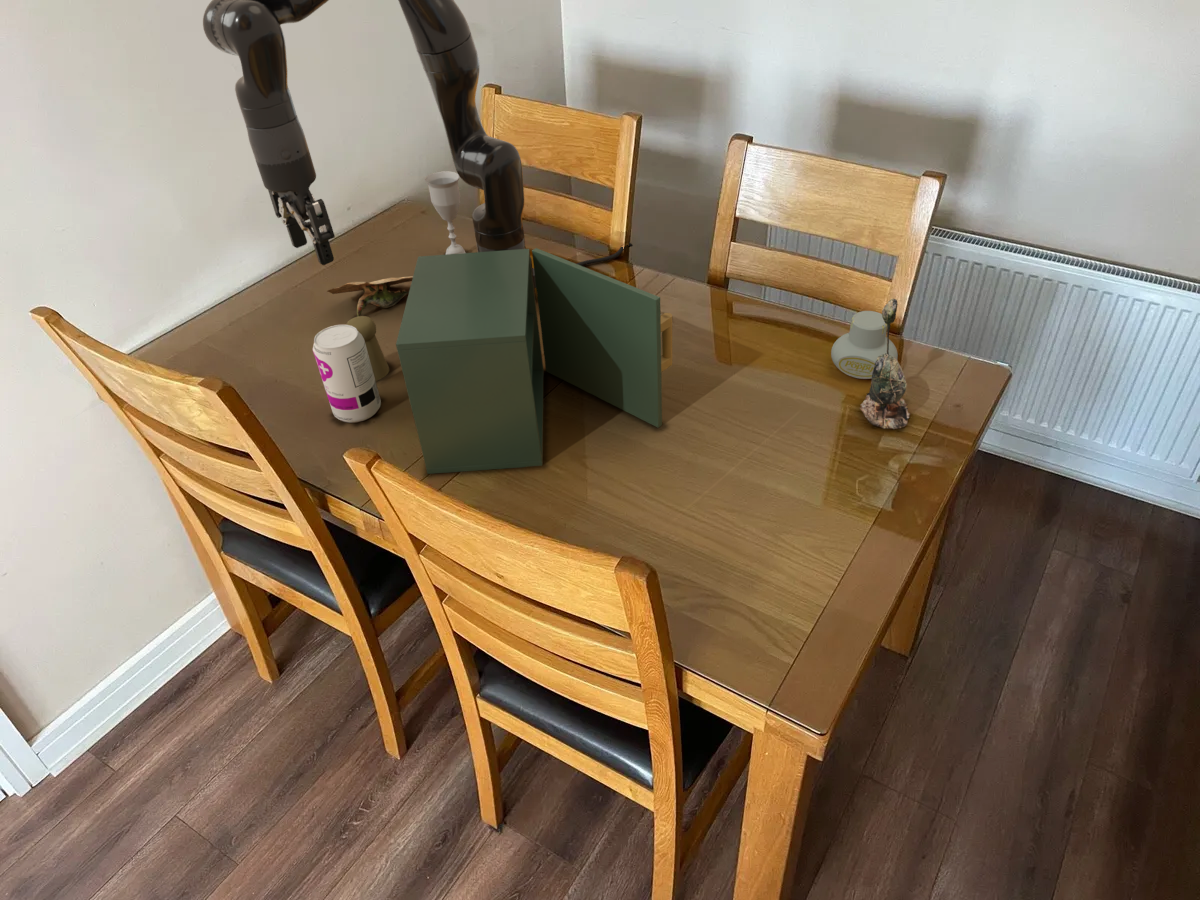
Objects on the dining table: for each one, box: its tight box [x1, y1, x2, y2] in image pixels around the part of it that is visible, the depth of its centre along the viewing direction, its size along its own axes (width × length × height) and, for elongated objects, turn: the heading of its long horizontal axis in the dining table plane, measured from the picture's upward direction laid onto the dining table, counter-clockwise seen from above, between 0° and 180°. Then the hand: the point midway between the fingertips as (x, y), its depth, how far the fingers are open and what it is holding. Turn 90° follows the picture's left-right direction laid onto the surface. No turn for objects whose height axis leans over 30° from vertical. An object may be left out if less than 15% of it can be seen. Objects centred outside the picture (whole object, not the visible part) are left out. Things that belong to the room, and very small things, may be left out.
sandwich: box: [326, 275, 413, 317], centre depth 176 cm, size 18×14×8 cm
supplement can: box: [312, 324, 382, 423], centre depth 145 cm, size 8×8×15 cm
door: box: [531, 247, 673, 428], centre depth 142 cm, size 6×26×24 cm, turn 47°
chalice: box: [424, 170, 467, 255], centre depth 186 cm, size 7×7×18 cm
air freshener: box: [830, 310, 899, 380], centre depth 148 cm, size 11×8×10 cm
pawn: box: [345, 315, 390, 382], centre depth 155 cm, size 6×6×11 cm
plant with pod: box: [859, 298, 911, 430], centre depth 134 cm, size 8×11×20 cm
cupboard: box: [395, 248, 545, 475], centre depth 138 cm, size 18×26×24 cm
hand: (313, 253), depth 135 cm, fingers open, 8 cm apart
